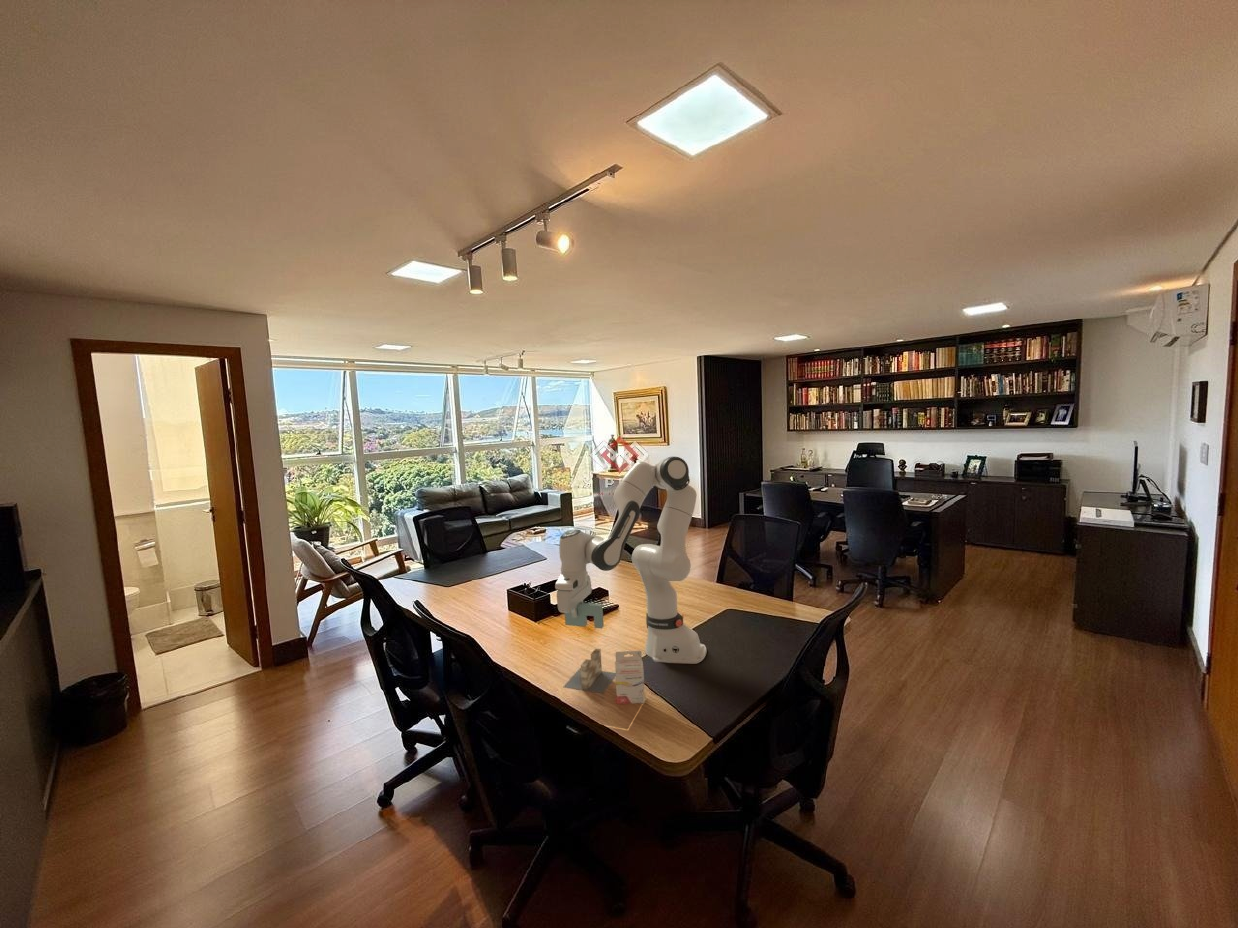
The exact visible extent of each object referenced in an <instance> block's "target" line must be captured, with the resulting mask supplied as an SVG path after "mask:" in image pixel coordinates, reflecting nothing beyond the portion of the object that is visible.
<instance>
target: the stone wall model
mask: <svg viewBox="0 0 1238 928" xmlns="http://www.w3.org/2000/svg"><path fill="white" fill-rule="evenodd" d="M580 668H581V679H582V689H583V690H588V688H589V687H590V686H591V685H592V683H593V682H594V681H595V680H596V678H597V677H598V676H599V675H600V673H601V672H602V671H603V670H602V669H603V668H602V651H601V648H594V650H593V651H592V652H591V653H590V659H588V658H587V659H585V660H584V661H583V662H582V663H581V664H580ZM583 690H582V691H583Z"/></svg>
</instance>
